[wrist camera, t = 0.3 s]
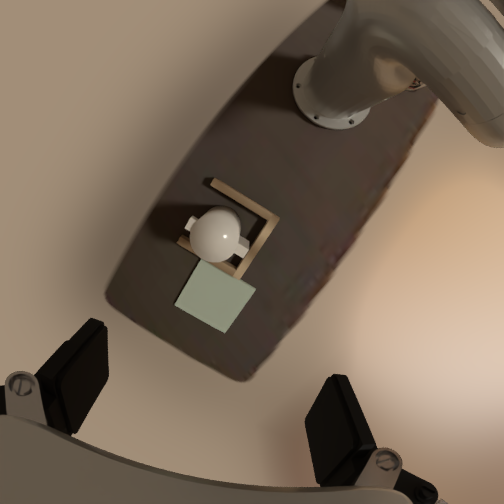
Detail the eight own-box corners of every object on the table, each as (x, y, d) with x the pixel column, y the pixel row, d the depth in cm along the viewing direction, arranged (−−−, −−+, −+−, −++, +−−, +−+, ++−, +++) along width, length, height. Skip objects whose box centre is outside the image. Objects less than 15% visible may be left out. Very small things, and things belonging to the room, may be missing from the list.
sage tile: (202, 256, 45) (201, 257, 44) (255, 288, 46) (255, 289, 46) (175, 303, 47) (174, 304, 47) (225, 331, 48) (224, 333, 48)
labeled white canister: (210, 195, 42) (199, 201, 33) (257, 224, 43) (258, 238, 34) (190, 228, 43) (175, 243, 35) (237, 256, 44) (233, 277, 36)
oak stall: (215, 177, 41) (214, 178, 40) (279, 216, 43) (280, 218, 41) (179, 240, 44) (176, 243, 42) (239, 276, 45) (239, 280, 44)
